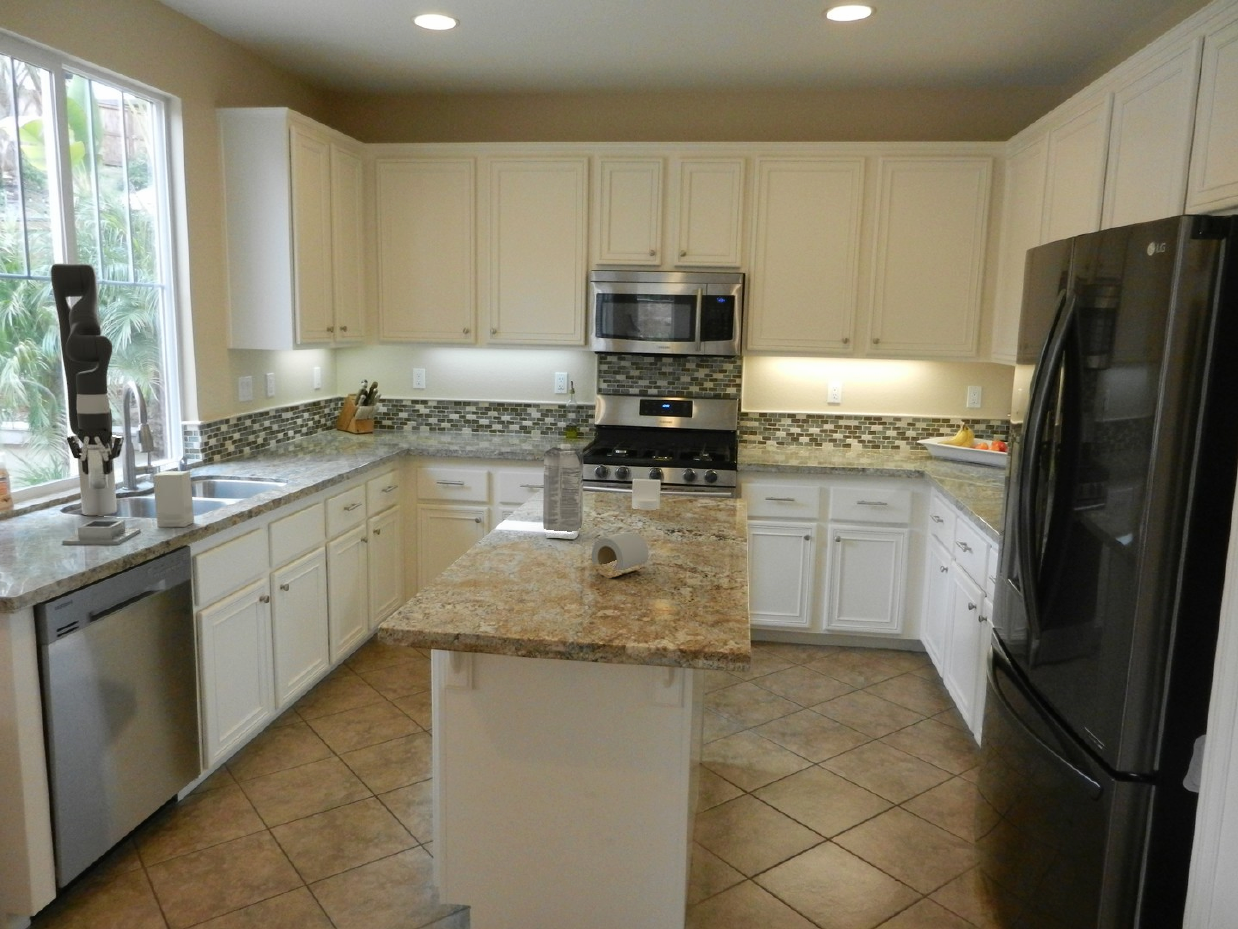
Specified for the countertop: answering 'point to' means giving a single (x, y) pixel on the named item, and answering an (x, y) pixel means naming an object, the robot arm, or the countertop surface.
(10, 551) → the countertop surface
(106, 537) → the duct plate
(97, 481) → the pale grey upright block
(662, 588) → the countertop surface
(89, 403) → the robot arm
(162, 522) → the skincare box
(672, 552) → the countertop surface
